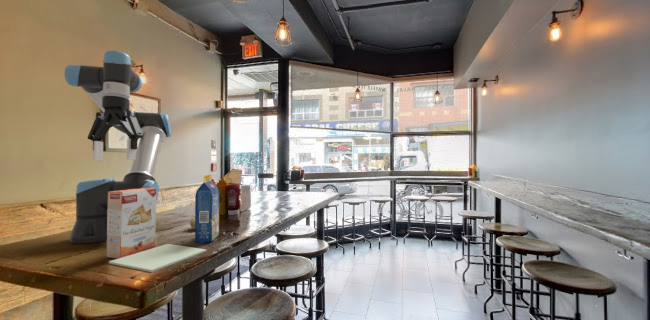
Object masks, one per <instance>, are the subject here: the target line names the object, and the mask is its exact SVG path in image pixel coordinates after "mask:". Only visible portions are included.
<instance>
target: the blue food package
mask: <svg viewBox="0 0 650 320" xmlns="http://www.w3.org/2000/svg"><path fill="white" fill-rule="evenodd" d="M212 176H213V175H212V174H210V173H209V174H205V175H203V183H202V184H201V185H200V186H199V187H198V188H197V189H196V192H195V201H194V203H195V204H194V205H195V208H194V209H195V211H194V215H195V230H194V231H195V232H194V243H212V242H213V241H214V240H215V239H216V238H217V237H218V236H219V234H220V190H219V188H218V186H217V185H216V183H215V182H214V181H213V180H212V179H213V177H212Z"/></svg>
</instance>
